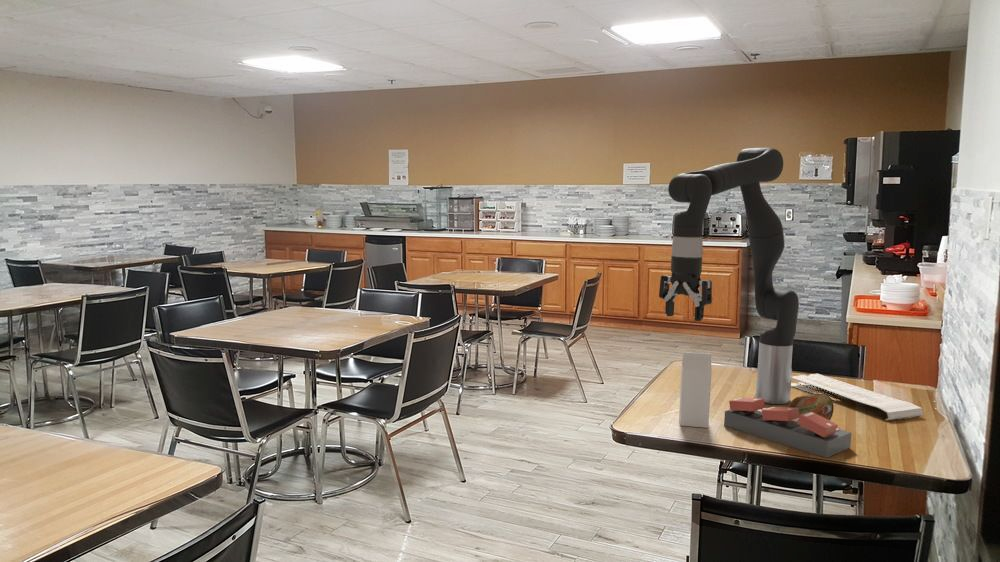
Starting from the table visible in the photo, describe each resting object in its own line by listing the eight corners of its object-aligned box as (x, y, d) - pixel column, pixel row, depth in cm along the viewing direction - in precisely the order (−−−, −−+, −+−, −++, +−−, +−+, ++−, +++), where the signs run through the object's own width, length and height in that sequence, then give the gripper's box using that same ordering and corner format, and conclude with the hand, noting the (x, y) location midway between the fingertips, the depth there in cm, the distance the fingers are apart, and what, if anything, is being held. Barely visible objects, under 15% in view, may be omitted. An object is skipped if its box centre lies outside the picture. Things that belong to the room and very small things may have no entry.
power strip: (748, 418, 198) (749, 401, 197) (850, 448, 176) (851, 429, 175) (724, 425, 191) (725, 408, 190) (826, 458, 169) (828, 438, 168)
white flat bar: (815, 370, 237) (925, 406, 200) (815, 382, 238) (923, 420, 201) (785, 373, 233) (891, 411, 196) (784, 385, 233) (890, 424, 196)
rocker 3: (808, 420, 178) (811, 410, 177) (835, 433, 173) (837, 424, 172) (797, 423, 175) (800, 414, 174) (824, 437, 170) (827, 428, 169)
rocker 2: (773, 416, 185) (772, 406, 185) (799, 417, 180) (798, 407, 180) (762, 419, 182) (761, 409, 182) (788, 421, 177) (787, 410, 177)
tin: (794, 431, 187) (796, 400, 186) (784, 428, 190) (786, 396, 189) (833, 424, 194) (836, 393, 193) (823, 420, 197) (825, 390, 196)
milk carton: (708, 428, 188) (712, 356, 186) (680, 426, 190) (683, 355, 187) (706, 420, 195) (710, 350, 193) (679, 417, 197) (682, 349, 194)
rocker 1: (741, 406, 193) (740, 397, 193) (765, 407, 187) (763, 398, 187) (730, 410, 190) (729, 400, 190) (753, 411, 184) (752, 401, 184)
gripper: (720, 256, 179) (716, 321, 181) (672, 251, 189) (669, 312, 192) (702, 257, 174) (698, 324, 176) (654, 253, 185) (651, 315, 187)
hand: (683, 318), depth 184 cm, fingers open, 8 cm apart
